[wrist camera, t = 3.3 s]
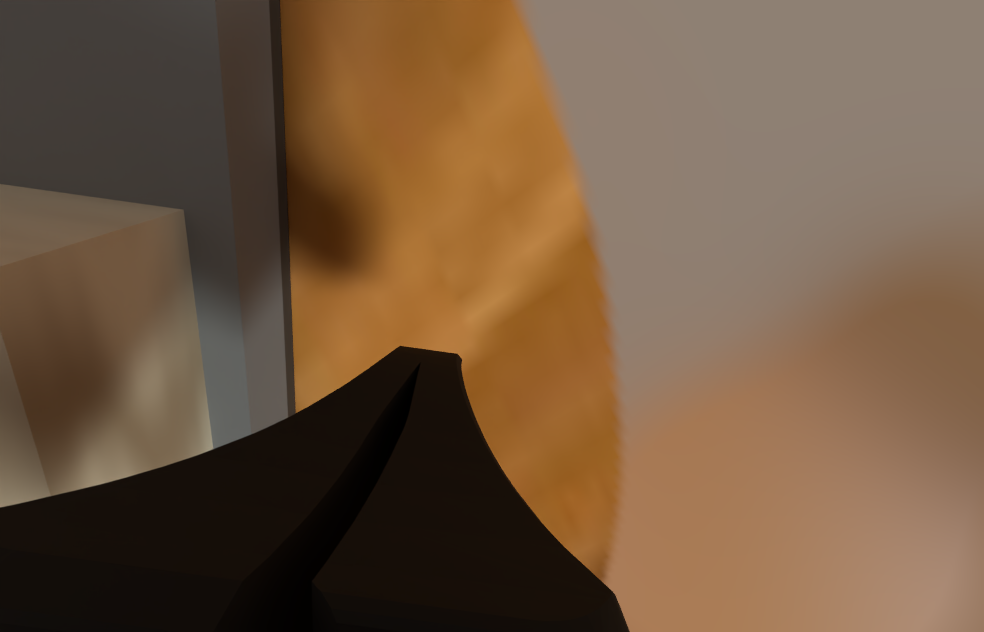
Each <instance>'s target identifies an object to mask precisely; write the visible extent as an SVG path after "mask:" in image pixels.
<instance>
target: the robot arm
mask: <svg viewBox="0 0 984 632" xmlns="http://www.w3.org/2000/svg"><path fill="white" fill-rule="evenodd" d="M461 364H462V359H461V358H460V356H459V355H458V354H454V353H447V352H440V351H433V350H426V349H419V348H411V347H404V346H399V347H398V348H396V349H395V350H394V351H392V352H391V353H389V354H388V355H386V356H385V357H384V358H382V359H381V360H380V361H378V362H377V363H375V364H374V365H373V366H371V367H370V368H369V369H367V370H366V371H364V372H363V373H361V374H360V375H359V376H357V377H356V378H354V379H353V380H351V381H350V382H348V383H347V384H345V385H344V386H342V387H341V388H339V389H337V390H336V391H334V392H332V393H331V394H329V395H327V396H326V397H324V398H322V399H321V400H319V401H317V402H316V403H314V404H312V405H311V406H309V407H307V408H305V409H303V410H301V411H300V412H298V413H296V414H294V415H292V416H290V417H288V418H286V419H284V420H282V421H279V422H277V423H275V424H273V425H271V426H269V427H267V428H265V429H262V430H260V431H258V432H256V433H253V434H251V435H248V436H246V437H243V438H241V439H238V440H235V441H233V442H230V443H228V444H225V445H223V446H220V447H217V448H215V449H212V450H210V451H207V452H204V453H202V454H199V455H196V456H193V457H191V458H188V459H184V460H181V461H178V462H175V463H172V464H169V465H166V466H163V467H160V468H156V469H153V470H150V471H146V472H143V473H139V474H136V475H132V476H129V477H126V478H122V479H118V480H115V481H111V482H107V483H103V484H100V485H96V486H91V487H87V488H83V489H79V490H74V491H70V492H66V493H62V494H57V495H53V496H49V497H45V498H40V499H36V500H32V501H28V502H24V503H19V504H14V505H10V506H5V507H0V632H629V629H628V626H627V624H626V621H625V619H624V616H623V613H622V611H621V608H620V606H619V603H618V601H617V598H616V596H615V594H614V593H613V592H612V591H611V590H610V589H609V588H608V587H607V586H606V585H605V584H604V583H603V582H602V581H601V580H599V579H598V578H597V577H596V576H595V575H594V574H593V573H592V572H591V571H590V570H589V569H587V568H586V567H585V566H584V565H583V564H582V563H581V562H580V561H579V560H578V559H577V558H575V557H574V556H573V555H572V554H571V553H570V552H569V551H568V550H567V549H566V548H565V547H564V546H563V545H562V544H561V543H560V542H559V541H558V540H557V539H556V538H555V537H554V536H553V535H552V534H551V533H550V531H549V530H548V529H547V528H546V527H545V526H544V525H543V524H542V523H541V521H540V520H539V519H538V517H537V516H536V515H535V514H534V512H533V511H532V510H531V509H530V507H529V506H528V505H527V504H526V502H525V501H524V500H523V498H522V497H521V496H520V495H519V493H518V492H517V491H516V489H515V488H514V487H513V485H512V484H511V482H510V481H509V479H508V478H507V476H506V475H505V473H504V472H503V470H502V469H501V467H500V465H499V463H498V462H497V460H496V458H495V457H494V455H493V453H492V451H491V450H490V448H489V446H488V444H487V442H486V440H485V438H484V436H483V434H482V432H481V429H480V427H479V425H478V423H477V420H476V418H475V416H474V413H473V410H472V408H471V405H470V402H469V399H468V396H467V393H466V389H465V386H464V381H463V377H462V370H461Z"/></svg>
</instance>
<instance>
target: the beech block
mask: <svg viewBox="0 0 984 632" xmlns="http://www.w3.org/2000/svg"><path fill="white" fill-rule="evenodd" d="M212 449H213V443H212V435H211V427H210V419H209V411H208V403H207V394H206V386H205V378H204V370H203V362H202V354H201V346H200V338H199V330H198V322H197V314H196V306H195V298H194V290H193V282H192V273H191V265H190V257H189V249H188V241H187V233H186V225H185V217H184V210H182V209H175V208H168V207H161V206H154V205H146V204H139V203H132V202H125V201H118V200H111V199H104V198H96V197H89V196H82V195H75V194H68V193H61V192H54V191H46V190H39V189H32V188H25V187H18V186H11V185H4V184H0V507H5V506H10V505H14V504H19V503H24V502H28V501H32V500H36V499H40V498H45V497H49V496H53V495H57V494H62V493H66V492H70V491H74V490H79V489H83V488H87V487H91V486H96V485H100V484H103V483H107V482H111V481H115V480H118V479H122V478H126V477H129V476H132V475H136V474H139V473H143V472H146V471H150V470H153V469H156V468H160V467H163V466H166V465H169V464H172V463H175V462H178V461H181V460H184V459H188V458H191V457H193V456H196V455H199V454H202V453H204V452H207V451H210V450H212Z"/></svg>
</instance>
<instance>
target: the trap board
mask: <svg viewBox="0 0 984 632" xmlns="http://www.w3.org/2000/svg"><path fill="white" fill-rule="evenodd" d="M0 184H4V185H11V186H18V187H25V188H32V189H39V190H46V191H54V192H61V193H68V194H75V195H82V196H89V197H96V198H104V199H111V200H118V201H125V202H132V203H139V204H146V205H154V206H161V207H168V208H175V209H182V210H184V217H185V225H186V233H187V241H188V249H189V257H190V265H191V273H192V282H193V290H194V298H195V306H196V314H197V322H198V330H199V338H200V346H201V354H202V362H203V370H204V378H205V386H206V394H207V403H208V411H209V419H210V427H211V435H212V443H213V449H215V448H217V447H220V446H223V445H225V444H228V443H230V442H233V441H235V440H238V439H241V438H243V437H246V436H248V435H251V434H253V433H256V432H258V431H260V430H262V429H265V428H267V427H269V426H271V425H273V424H275V423H277V422H279V421H282V420H284V419H286V418H288V417H290V416H292V415H294V414H296V413H295V387H294V361H293V335H292V309H291V283H290V256H289V230H288V204H287V178H286V152H285V126H284V100H283V74H282V48H281V21H280V0H0Z"/></svg>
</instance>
